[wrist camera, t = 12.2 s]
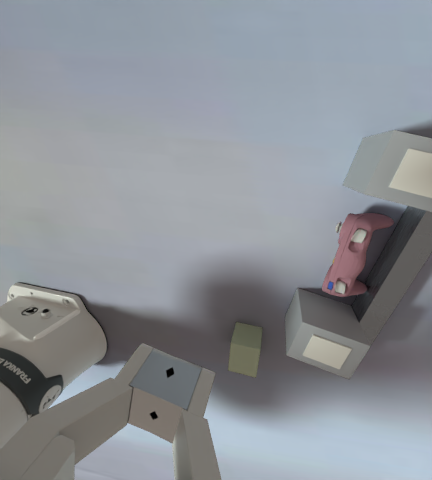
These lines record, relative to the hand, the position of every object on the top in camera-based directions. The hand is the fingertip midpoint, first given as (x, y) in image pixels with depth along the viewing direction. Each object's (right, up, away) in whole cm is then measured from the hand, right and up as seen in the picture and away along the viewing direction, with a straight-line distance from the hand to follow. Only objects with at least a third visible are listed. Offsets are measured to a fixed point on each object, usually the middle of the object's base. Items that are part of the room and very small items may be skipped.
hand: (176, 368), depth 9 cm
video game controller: (+18, +4, +20) cm, 27 cm away
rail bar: (+21, +2, +19) cm, 29 cm away
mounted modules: (+17, +4, +19) cm, 26 cm away
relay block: (+6, -10, +27) cm, 30 cm away
